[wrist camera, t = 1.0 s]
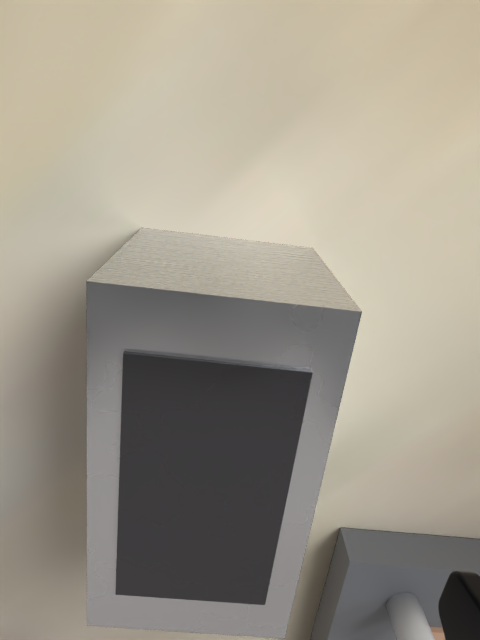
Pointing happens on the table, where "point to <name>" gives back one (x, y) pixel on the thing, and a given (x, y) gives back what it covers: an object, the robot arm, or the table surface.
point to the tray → (389, 584)
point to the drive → (208, 428)
